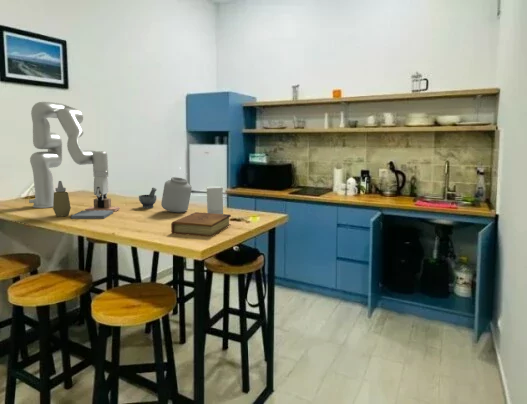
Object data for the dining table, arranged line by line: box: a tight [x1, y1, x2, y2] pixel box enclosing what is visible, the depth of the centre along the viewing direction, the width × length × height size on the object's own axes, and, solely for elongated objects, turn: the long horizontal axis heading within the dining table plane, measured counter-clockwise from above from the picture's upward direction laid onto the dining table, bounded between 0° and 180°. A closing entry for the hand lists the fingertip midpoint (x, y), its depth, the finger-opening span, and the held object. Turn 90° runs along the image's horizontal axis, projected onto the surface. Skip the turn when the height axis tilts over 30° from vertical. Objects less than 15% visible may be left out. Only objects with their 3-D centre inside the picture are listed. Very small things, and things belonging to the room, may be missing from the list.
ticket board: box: [70, 209, 114, 220], centre depth 201 cm, size 16×14×2 cm
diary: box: [170, 211, 232, 237], centre depth 176 cm, size 23×19×6 cm
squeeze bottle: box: [52, 180, 72, 217], centre depth 200 cm, size 8×8×18 cm
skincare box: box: [206, 185, 224, 214], centre depth 204 cm, size 8×7×16 cm
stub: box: [84, 197, 121, 213], centre depth 216 cm, size 16×8×6 cm, turn 94°
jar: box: [160, 167, 193, 214], centre depth 214 cm, size 19×15×25 cm
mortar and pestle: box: [138, 187, 158, 209], centre depth 227 cm, size 11×9×12 cm
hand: (102, 206), depth 216 cm, fingers closed on stub, 4 cm apart
